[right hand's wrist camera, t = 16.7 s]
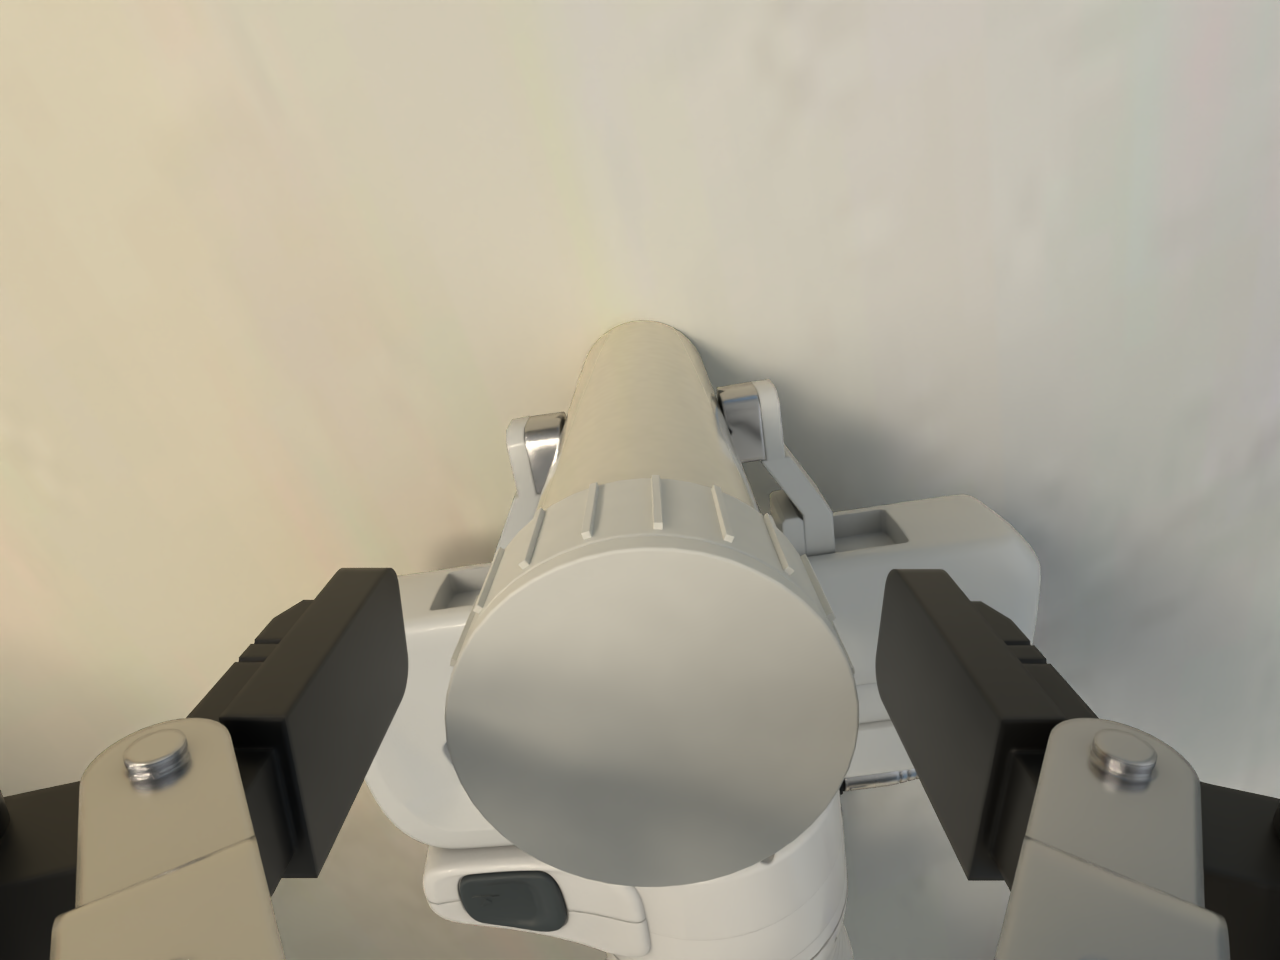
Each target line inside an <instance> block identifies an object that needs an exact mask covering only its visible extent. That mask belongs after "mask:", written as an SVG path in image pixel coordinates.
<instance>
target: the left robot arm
mask: <svg viewBox="0 0 1280 960" xmlns="http://www.w3.org/2000/svg"><path fill="white" fill-rule="evenodd" d="M717 398H718V403H719V406H720V408H721V411H722V413H723V416H724V419H725V421H726V424H727V426H728V429H729V432H730V434H731V437H732V439H733V442H734V445H735V447H736V450H737V452H738V455H739V458H740V460H741V463H743V462H751V461H759V460H760V461H761V463H762V464H763V465H764V467H765V468H766V469H767V470H768V472H769V473H770V474H771V475H772V477H773V478H774V479H775V481H776V482H777V483H778V484H779V486H780V487H781V488H782V489H783V490H777V491H773V492H772V493H771V494H770V495H769V497H770V508H771V516H772V517H773V520H774V522H775V525H776V527H777V528H778V529H779V530H780V531H781V532H782V533H783V534H784V535H785V536H786V537H787V538H788V540H789V541H790V542H791V544H792V545H793V547H794V548H795V549H796V551H797V552H798V553H799V555H800V556H802V555H804V554H806V556H807V558H808V559H809V561H810V564H811V566H812V568H813V570H814V572H815V574H816V576H817V579H818V581H819V583H820V585H821V587H822V589H823V591H824V594H825V596H826V598H827V600H828V602H829V604H830V606H831V609H832V611H833V613H834V615H835V617H836V619H835V620H833V623H834V625H835V627H836V629H837V632H838V634H839V636H840V638H841V640H842V643H843V645H844V647H845V649H846V651H847V653H848V656H849V658H850V660H851V662H852V664H853V667H854V671H855V674H853V676H854V679H855V683H856V689H857V694H858V700H859V729H858V735H857V742H856V748H855V751H854V755H853V758H852V761H851V764H850V767H849V770H848V772H847V774H846V776H845V778H844V780H843V782H842V785H841V787H840V789H839V790H838V792H837V793H836V795H835V796H834V798H833V799H832V801H831V802H830V804H829V805H828V807H827V808H826V809H825V810H824V812H823V813H822V814H821V815H820V816H819V817H818V818H817V819H816V821H815V822H814V823H813V824H812V825H811V826H810V827H809V828H808V829H806V830H805V831H804V832H803V833H802V834H801V835H800V836H798V837H797V838H796V839H795V840H794V841H792V842H791V843H790V844H788V845H787V846H785V847H784V848H782V849H781V850H779V851H778V852H776V853H775V854H773V855H771V856H769V857H768V858H766V859H764V860H762V861H760V862H758V863H756V864H754V865H752V866H750V867H747V868H745V869H742V870H740V871H737V872H735V873H732V874H729V875H726V876H722V877H719V878H715V879H712V880H708V881H703V882H698V883H692V884H687V885H679V886H667V887H632V886H624V885H615V884H608V883H603V882H599V881H594V880H589V879H585V878H582V877H579V876H576V875H573V874H570V873H567V872H564V871H561V870H559V869H557V868H555V867H552V866H550V865H548V864H546V863H543V862H541V861H539V860H538V859H536V858H534V857H533V856H531V855H529V854H527V853H526V852H524V851H522V850H521V849H519V848H518V847H517V846H515V845H514V844H513V843H511V842H510V841H509V840H507V839H506V838H505V837H503V836H502V835H501V834H500V833H499V832H498V831H497V830H496V829H495V828H494V827H493V826H492V825H491V824H490V823H489V822H488V821H487V820H486V819H485V818H484V817H483V816H482V814H481V813H480V812H479V811H478V809H477V808H476V807H475V806H474V804H473V803H472V802H471V800H470V798H469V797H468V795H467V793H466V792H465V790H464V788H463V787H462V785H461V783H460V781H459V778H458V776H457V774H456V771H455V769H454V766H453V764H452V760H451V756H450V752H449V748H448V744H447V740H446V729H445V705H446V694H447V690H448V686H449V682H450V678H451V674H452V671H453V668H454V667H453V666H450V662H451V658H452V656H453V653H454V651H455V648H456V646H457V643H458V641H459V639H460V636H461V634H462V631H463V629H464V626H465V624H466V621H467V619H468V616H469V614H470V612H471V609H472V607H473V604H474V602H475V599H476V597H477V595H479V594H480V591H481V589H482V586H483V584H484V581H485V579H486V577H487V574H488V572H489V569H490V567H491V564H492V562H493V560H492V562H490V563H483V564H476V565H470V566H463V567H456V568H449V569H442V570H435V571H428V572H421V573H415V574H408V575H401V576H397V578H398V582H399V589H400V596H401V604H402V612H403V620H404V628H405V636H406V643H407V651H408V678H407V685H406V689H405V693H404V696H403V699H402V701H401V703H400V705H399V707H398V709H397V711H396V714H395V716H394V718H393V720H392V722H391V724H390V726H389V728H388V730H387V732H386V735H385V737H384V739H383V741H382V743H381V745H380V747H379V749H378V751H377V753H376V756H375V758H374V760H373V762H372V764H371V766H370V768H369V770H368V772H367V774H366V777H365V779H364V780H365V782H366V784H367V786H368V788H369V790H370V792H371V793H372V795H373V797H374V799H375V801H376V802H377V804H378V805H379V807H380V808H381V810H382V811H383V813H384V814H385V815H386V817H387V818H388V819H389V820H390V821H391V822H392V823H393V824H394V825H395V826H396V827H397V828H398V829H399V830H401V831H402V832H403V833H404V834H406V835H407V836H409V837H411V838H412V839H414V840H417V841H419V842H421V843H424V844H427V845H429V846H428V851H427V857H426V863H425V869H424V875H423V888H424V893H425V896H426V899H427V902H428V904H429V906H430V907H431V909H432V910H433V911H434V912H435V913H436V914H437V915H438V916H440V917H441V918H443V919H446V920H448V921H452V922H456V923H462V924H469V925H478V926H487V927H495V928H503V929H510V930H517V931H523V932H529V933H535V934H540V935H545V936H550V937H555V938H560V939H563V940H567V941H571V942H575V943H579V944H582V945H585V946H588V947H592V948H595V949H598V950H601V951H604V952H607V959H606V960H854V958H853V952H852V948H851V944H850V940H849V937H848V935H847V932H846V929H845V926H844V924H843V920H844V916H845V913H846V905H847V896H848V881H847V866H846V855H845V843H844V831H843V818H842V808H841V802H840V795H841V794H843V791H845V792H846V791H849V790H850V791H852V790H860V789H869V788H877V787H885V786H890V785H895V784H899V783H903V782H907V780H908V781H911V780H915V778H916V779H919V777H918V775H917V773H916V771H915V769H914V767H913V765H912V763H911V761H910V758H909V756H908V754H907V752H906V750H905V748H904V746H903V744H902V742H901V740H900V738H899V736H898V734H897V732H896V729H895V727H894V725H893V723H892V721H891V719H890V717H889V715H888V713H887V711H886V709H885V707H884V705H883V703H882V700H881V698H880V695H879V691H878V687H877V681H876V671H875V660H876V651H877V643H878V636H879V628H880V620H881V612H882V605H883V597H884V589H885V583H886V579H887V576H888V574H889V572H890V571H891V570H892V569H943V570H945V571H946V572H947V573H948V574H949V575H950V577H951V578H952V579H953V580H954V582H955V583H956V584H957V585H958V586H959V588H960V589H961V590H962V591H963V592H964V594H965V595H966V596H967V597H968V599H969V600H970V601H982V602H983V603H985V604H987V605H988V606H990V607H991V608H993V609H995V610H996V611H998V612H1000V613H1001V614H1003V615H1005V616H1006V617H1008V618H1010V619H1011V620H1012V621H1013V622H1014V623H1015V624H1016V625H1017V627H1018V628H1019V629H1020V630H1021V631H1022V632H1023V633H1024V634H1025V636H1026V637H1027V638H1028V639H1029V640H1030V644H1031V645H1032V644H1033V639H1034V633H1035V627H1036V620H1037V613H1038V604H1039V595H1040V582H1041V571H1040V564H1039V560H1038V558H1037V555H1036V554H1035V552H1034V551H1033V549H1032V547H1031V546H1030V545H1029V544H1028V543H1027V541H1026V540H1025V539H1024V538H1023V537H1022V536H1021V535H1020V534H1019V533H1018V532H1017V531H1016V530H1015V529H1014V528H1013V527H1012V526H1011V525H1010V524H1009V523H1008V522H1007V521H1006V520H1005V519H1003V518H1002V517H1001V516H1000V515H998V514H997V513H996V512H994V511H993V510H992V509H990V508H989V507H987V506H986V505H985V504H983V503H982V502H981V501H979V500H978V499H976V498H974V497H972V496H970V495H966V494H958V495H948V496H941V497H935V498H928V499H921V500H914V501H907V502H901V503H894V504H887V505H880V506H873V507H866V508H860V509H853V510H846V511H839V512H832V510H831V509H830V507H829V505H828V504H827V502H826V501H825V499H824V497H823V496H822V494H821V492H820V491H819V489H818V487H817V486H816V484H815V483H814V482H813V480H812V479H811V478H810V476H809V475H808V474H807V473H806V471H805V470H804V469H803V467H802V466H801V465H800V464H799V462H798V461H797V460H796V459H795V457H794V456H793V455H792V453H791V452H790V451H789V450H788V448H787V447H786V446H785V444H784V441H783V431H782V420H781V410H780V402H779V398H778V394H777V390H776V387H775V386H774V384H773V383H772V382H771V380H770V379H765V380H758V381H752V382H745V383H740V384H734V385H728V386H722V387H717ZM565 420H566V415H565V413H564V412H558V413H551V414H544V415H537V416H527V417H522V418H517V419H512V421H511V423H510V424H509V426H508V428H507V430H506V442H507V450H508V454H509V459H510V463H511V467H512V472H513V476H514V480H515V484H516V489H517V492H516V494H515V497H514V499H513V502H512V505H511V508H510V511H509V514H508V517H507V520H506V523H505V525H504V528H503V531H502V534H501V537H500V540H499V543H498V546H497V549H496V552H497V550H498V549H499V547H501V548H503V549H505V548H506V547H507V545H508V544H509V543H510V542H511V541H512V539H513V538H514V537H515V536H516V534H517V533H518V532H519V531H520V530H521V529H522V528H523V527H525V526H526V525H527V524H528V523H529V522H530V521H531V520H532V519H533V517H534V513H535V510H536V507H537V504H538V501H539V498H540V495H541V492H542V489H543V486H544V483H545V480H546V477H547V474H548V471H549V468H550V465H551V462H552V459H553V456H554V453H555V450H556V447H557V444H558V441H559V438H560V435H561V432H562V429H563V426H564V423H565ZM496 552H495V554H496ZM494 557H495V555H494ZM494 557H493V559H494Z"/></svg>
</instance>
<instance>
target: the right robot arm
mask: <svg viewBox="0 0 1280 960" xmlns="http://www.w3.org/2000/svg"><path fill="white" fill-rule="evenodd" d="M875 671H876V681H877V687H878V691H879V695H880V698H881V700H882V703H883V705H884V707H885V709H886V711H887V713H888V715H889V717H890V719H891V721H892V723H893V725H894V727H895V729H896V732H897V734H898V736H899V738H900V740H901V742H902V744H903V746H904V748H905V750H906V752H907V754H908V756H909V758H910V761H911V763H912V765H913V767H914V769H915V771H916V773H917V775H918V777H919V779H920V781H921V783H922V785H923V787H924V790H925V792H926V794H927V796H928V798H929V800H930V802H931V804H932V806H933V808H934V810H935V812H936V814H937V816H938V819H939V821H940V823H941V825H942V827H943V829H944V831H945V833H946V835H947V837H948V839H949V841H950V843H951V845H952V848H953V850H954V852H955V854H956V856H957V858H958V860H959V862H960V864H961V866H962V868H963V870H964V872H965V874H966V877H967V879H968V880H1005V882H1006V884H1007V886H1008V887H1009V889H1010V891H1011V893H1010V897H1009V902H1008V906H1007V910H1006V914H1005V918H1004V922H1003V926H1002V930H1001V934H1000V938H999V942H998V947H997V951H996V955H995V959H994V960H1280V799H1278V798H1273V797H1268V796H1264V795H1259V794H1254V793H1249V792H1245V791H1240V790H1235V789H1231V788H1226V787H1221V786H1216V785H1212V784H1208V783H1204V782H1200V781H1199V778H1198V776H1197V774H1196V772H1195V770H1194V769H1193V767H1192V766H1191V765H1190V763H1189V762H1188V761H1187V760H1186V759H1185V758H1184V757H1183V756H1182V755H1181V754H1179V753H1178V752H1177V751H1176V750H1174V749H1173V748H1172V747H1170V746H1169V745H1167V744H1166V743H1164V742H1163V741H1161V740H1159V739H1157V738H1156V737H1154V736H1152V735H1150V734H1148V733H1146V732H1143V731H1141V730H1139V729H1136V728H1134V727H1131V726H1128V725H1125V724H1122V723H1118V722H1114V721H1110V720H1104V719H1099V718H1098V717H1097V716H1096V715H1095V714H1094V712H1093V711H1092V710H1091V709H1090V708H1089V707H1088V706H1087V705H1086V703H1085V702H1084V701H1083V700H1082V699H1081V698H1080V697H1079V695H1078V694H1077V693H1076V692H1075V691H1074V690H1073V689H1072V688H1071V686H1070V685H1069V684H1068V683H1067V682H1066V681H1065V680H1064V679H1063V677H1062V676H1061V675H1060V674H1059V673H1058V672H1057V671H1056V670H1055V668H1054V667H1053V666H1052V665H1051V664H1047V663H1046V658H1045V657H1044V656H1043V655H1042V654H1041V653H1040V651H1039V650H1038V649H1037V648H1036V647H1035V646H1034V645H1031V644H1030V640H1029V639H1028V638H1027V637H1026V636H1025V634H1024V633H1023V632H1022V631H1021V630H1020V629H1019V628H1018V627H1017V625H1016V624H1015V623H1014V622H1013V621H1012V620H1011V619H1010V618H1008V617H1006V616H1005V615H1003V614H1001V613H1000V612H998V611H996V610H995V609H993V608H991V607H990V606H988V605H987V604H985V603H983V602H982V601H970V600H969V599H968V597H967V596H966V595H965V594H964V592H963V591H962V590H961V589H960V588H959V586H958V585H957V584H956V583H955V582H954V580H953V579H952V578H951V577H950V575H949V574H948V573H947V572H946V571H945V570H943V569H892V570H891V571H890V572H889V574H888V576H887V579H886V583H885V589H884V597H883V605H882V612H881V620H880V628H879V636H878V643H877V651H876V660H875ZM407 678H408V651H407V643H406V636H405V628H404V620H403V612H402V604H401V596H400V589H399V582H398V578H397V575H396V573H395V571H394V570H393V569H392V568H341V569H339V570H338V571H337V572H336V574H335V575H334V576H333V577H332V579H331V580H330V581H329V582H328V583H327V585H326V586H325V587H324V588H323V590H322V591H321V592H320V593H319V595H318V596H317V597H316V598H315V599H314V600H303V601H301V602H299V603H298V604H296V605H294V606H293V607H291V608H290V609H288V610H286V611H285V612H283V613H281V614H280V615H278V616H276V617H275V618H273V619H272V621H271V622H270V623H269V624H268V625H267V626H266V627H265V629H264V630H263V631H262V632H261V633H260V634H259V635H258V636H257V638H256V639H255V643H254V644H250V646H249V647H248V648H247V649H246V650H245V651H244V652H243V654H242V655H241V656H240V657H239V662H235V663H234V664H233V665H232V666H231V667H230V668H229V670H228V671H227V672H226V673H225V674H224V675H223V676H222V678H221V679H220V680H219V681H218V682H217V683H216V684H215V686H214V687H213V688H212V689H211V690H210V691H209V692H208V694H207V695H206V696H205V697H204V698H203V699H202V700H201V702H200V703H199V704H198V705H197V706H196V707H195V708H194V710H193V711H192V712H191V713H190V714H189V715H188V716H187V718H183V719H176V720H170V721H166V722H162V723H158V724H155V725H152V726H149V727H146V728H144V729H141V730H139V731H137V732H134V733H132V734H130V735H128V736H126V737H124V738H123V739H121V740H119V741H117V742H116V743H114V744H113V745H111V746H110V747H108V748H107V749H106V750H104V751H103V752H102V753H101V754H99V755H98V756H97V757H96V758H95V759H94V760H93V761H92V762H91V763H90V765H89V766H88V767H87V769H86V770H85V772H84V774H83V776H82V778H81V781H78V782H74V783H69V784H64V785H59V786H55V787H50V788H45V789H40V790H36V791H31V792H26V793H21V794H17V795H12V796H7V797H3V796H2V793H1V790H0V960H286V959H285V955H284V951H283V947H282V942H281V938H280V934H279V930H278V926H277V922H276V918H275V914H274V910H273V906H272V902H271V896H272V895H273V893H274V891H275V889H276V887H277V885H278V883H279V881H280V879H281V878H317V877H318V875H319V873H320V871H321V869H322V867H323V865H324V863H325V861H326V858H327V856H328V854H329V852H330V850H331V848H332V846H333V844H334V842H335V840H336V837H337V835H338V833H339V831H340V829H341V827H342V825H343V823H344V821H345V819H346V816H347V814H348V812H349V810H350V808H351V806H352V804H353V802H354V800H355V798H356V795H357V793H358V791H359V789H360V787H361V785H362V783H363V781H364V779H365V777H366V774H367V772H368V770H369V768H370V766H371V764H372V762H373V760H374V758H375V756H376V753H377V751H378V749H379V747H380V745H381V743H382V741H383V739H384V737H385V735H386V732H387V730H388V728H389V726H390V724H391V722H392V720H393V718H394V716H395V714H396V711H397V709H398V707H399V705H400V703H401V701H402V699H403V696H404V693H405V689H406V685H407Z"/></svg>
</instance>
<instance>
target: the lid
mask: <svg viewBox="0 0 1280 960" xmlns="http://www.w3.org/2000/svg"><path fill="white" fill-rule="evenodd" d="M835 619H836V617H835V615H834V613H833V611H832V609H831V606H830V604H829V602H828V600H827V598H826V596H825V594H824V591H823V589H822V587H821V585H820V583H819V581H818V579H817V576H816V574H815V572H814V570H813V568H812V566H811V564H810V561H809V559H808V558H807V556H806V554H804V555H802V556H800V555H799V553H798V552H797V551H796V549H795V548H794V547H793V545H792V544H791V542H790V541H789V540H788V538H787V537H786V536H785V535H784V534H783V533H782V532H781V531H780V530H779V529H778V528H777V527H776V525H775V522H774V520H773V517H772V516H771V515H769V514H768V513H766V514H765V515H764V516H763V515H762V514H761V513H759V512H758V511H757V510H755V509H754V508H752V507H751V506H749V505H747V504H745V503H744V502H742V501H740V500H739V499H737V498H735V497H733V496H730V495H728V494H726V493H723V492H722V491H721V487H719V486H716V485H713V487H712V488H710V487H707V486H703V485H699V484H696V483H692V482H687V481H680V480H673V479H660V476H659V475H651V478H639V479H629V480H619V481H615V482H610V483H606V484H602V485H598V484H597V482H595V483H592V484H590V485H589V488H588V489H586V490H583V491H580V492H577V493H575V494H572V495H570V496H568V497H566V498H565V499H563V500H561V501H559V502H557V503H555V504H553V505H551V506H550V507H549V508H547V509H546V510H543V509H542V508H539V509H538V510H537V511H536V512H535V515H534V518H533V519H532V520H531V521H530V522H529V523H528V524H527V525H526V526H525V527H523V528H522V529H521V530H520V531H519V532H518V533H517V534H516V536H515V537H514V538H513V539H512V541H511V542H510V543H509V544H508V545H507V547H506V548H505V549H503V548H501V547H499V549H498V550H497V552H496V554H495V557H494V559H493V562H492V564H491V567H490V569H489V572H488V574H487V577H486V579H485V581H484V584H483V586H482V589H481V591H480V594H479V595H477V597H476V599H475V602H474V604H473V607H472V609H471V612H470V614H469V616H468V619H467V621H466V624H465V626H464V629H463V631H462V634H461V636H460V639H459V641H458V643H457V646H456V648H455V651H454V653H453V656H452V658H451V662H450V666H453V667H454V668H453V671H452V674H451V678H450V682H449V686H448V690H447V694H446V705H445V729H446V740H447V744H448V748H449V752H450V756H451V760H452V764H453V766H454V769H455V771H456V774H457V776H458V778H459V781H460V783H461V785H462V787H463V788H464V790H465V792H466V793H467V795H468V797H469V798H470V800H471V802H472V803H473V804H474V806H475V807H476V808H477V809H478V811H479V812H480V813H481V814H482V816H483V817H484V818H485V819H486V820H487V821H488V822H489V823H490V824H491V825H492V826H493V827H494V828H495V829H496V830H497V831H498V832H499V833H500V834H501V835H502V836H503V837H505V838H506V839H507V840H509V841H510V842H511V843H513V844H514V845H515V846H517V847H518V848H519V849H521V850H522V851H524V852H526V853H527V854H529V855H531V856H533V857H534V858H536V859H538V860H539V861H541V862H543V863H546V864H548V865H550V866H552V867H555V868H557V869H559V870H561V871H564V872H567V873H570V874H573V875H576V876H579V877H582V878H585V879H589V880H594V881H599V882H603V883H608V884H615V885H624V886H632V887H667V886H679V885H687V884H692V883H698V882H703V881H708V880H712V879H715V878H719V877H722V876H726V875H729V874H732V873H735V872H737V871H740V870H742V869H745V868H747V867H750V866H752V865H754V864H756V863H758V862H760V861H762V860H764V859H766V858H768V857H769V856H771V855H773V854H775V853H776V852H778V851H779V850H781V849H782V848H784V847H785V846H787V845H788V844H790V843H791V842H792V841H794V840H795V839H796V838H797V837H798V836H800V835H801V834H802V833H803V832H804V831H805V830H806V829H808V828H809V827H810V826H811V825H812V824H813V823H814V822H815V821H816V819H817V818H818V817H819V816H820V815H821V814H822V813H823V812H824V810H825V809H826V808H827V807H828V805H829V804H830V802H831V801H832V799H833V798H834V796H835V795H836V793H837V792H838V790H839V789H840V787H841V785H842V782H843V780H844V778H845V776H846V774H847V772H848V770H849V767H850V764H851V761H852V758H853V755H854V751H855V748H856V742H857V735H858V729H859V700H858V694H857V689H856V683H855V679H854V676H853V674H855V671H854V667H853V664H852V662H851V660H850V658H849V656H848V653H847V651H846V649H845V647H844V645H843V643H842V640H841V638H840V636H839V634H838V632H837V629H836V627H835V625H834V623H833V620H835Z"/></svg>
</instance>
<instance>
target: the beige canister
mask: <svg viewBox="0 0 1280 960" xmlns="http://www.w3.org/2000/svg"><path fill="white" fill-rule="evenodd" d="M651 475H659V476H660V479H673V480H680V481H687V482H692V483H696V484H699V485H703V486H707V487H710V488H712V487H713V485H716V486H719V487H721V491H722V492H723V493H726V494H728V495H730V496H733V497H735V498H737V499H739V500H740V501H742V502H744V503H745V504H747V505H749V506H751V507H752V508H754V509H755V510H757V511H758V512H759V513H761V512H760V510H759V507H758V504H757V502H756V499H755V497H754V494H753V491H752V489H751V486H750V484H749V481H748V478H747V476H746V473H745V471H744V468H743V465H742V463H741V460H740V458H739V455H738V452H737V450H736V447H735V445H734V442H733V439H732V437H731V434H730V432H729V429H728V426H727V424H726V421H725V419H724V416H723V413H722V411H721V408H720V406H719V403H718V400H717V398H716V395H715V393H714V390H713V387H712V385H711V382H710V380H709V377H708V374H707V372H706V369H705V367H704V364H703V362H702V359H701V357H700V355H699V353H698V351H697V349H696V348H695V346H694V345H693V344H692V342H691V341H690V340H689V339H688V338H687V337H686V336H685V335H683V334H682V333H681V332H679V331H678V330H676V329H675V328H673V327H671V326H668V325H666V324H663V323H660V322H655V321H645V320H640V321H632V322H628V323H624V324H622V325H619V326H617V327H615V328H613V329H611V330H609V331H608V332H607V333H605V334H604V335H603V336H602V337H601V338H600V339H599V340H598V341H597V342H596V343H595V344H594V345H593V347H592V348H591V350H590V352H589V353H588V355H587V358H586V360H585V362H584V365H583V368H582V371H581V374H580V377H579V381H578V384H577V387H576V390H575V393H574V396H573V399H572V402H571V405H570V408H569V411H568V414H567V417H566V420H565V423H564V426H563V429H562V432H561V435H560V438H559V441H558V444H557V447H556V450H555V453H554V456H553V459H552V462H551V465H550V468H549V471H548V474H547V477H546V480H545V483H544V486H543V489H542V492H541V495H540V498H539V501H538V504H537V507H536V510H535V512H536V511H537V510H538V509H539V508H542V509H543V510H546V509H547V508H549V507H550V506H551V505H553V504H555V503H557V502H559V501H561V500H563V499H565V498H566V497H568V496H570V495H572V494H575V493H577V492H580V491H583V490H586V489H588V488H589V485H590V484H592V483H595V482H597V484H598V485H602V484H606V483H610V482H615V481H619V480H629V479H639V478H651ZM534 515H535V513H534ZM533 518H534V517H533Z"/></svg>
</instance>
